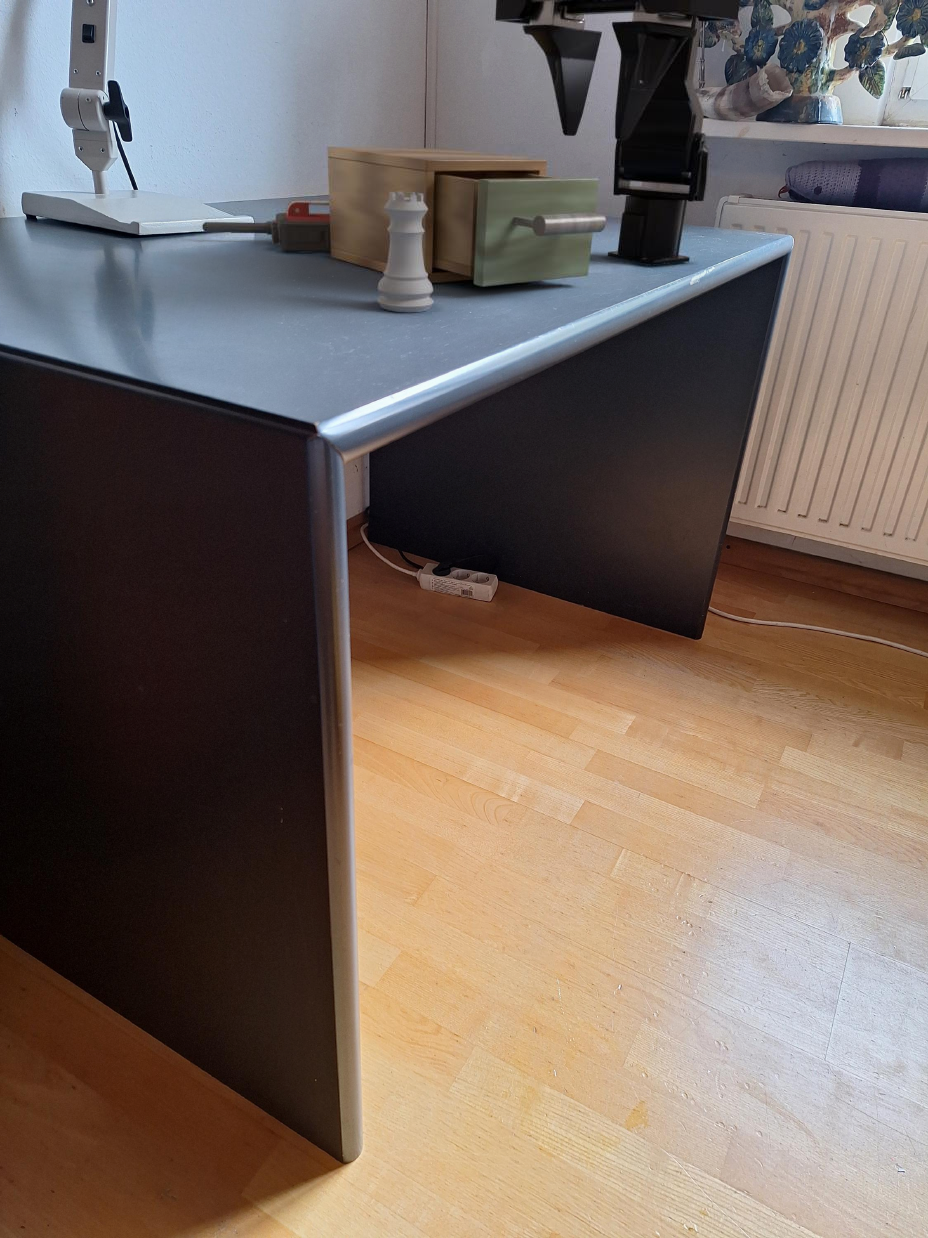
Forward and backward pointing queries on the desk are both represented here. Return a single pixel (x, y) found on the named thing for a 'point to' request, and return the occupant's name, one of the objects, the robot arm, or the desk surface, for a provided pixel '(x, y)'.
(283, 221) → the walkie-talkie
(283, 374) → the desk surface
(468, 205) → the drawer
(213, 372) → the desk surface
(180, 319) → the desk surface
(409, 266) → the rook chess piece
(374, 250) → the cabinet
